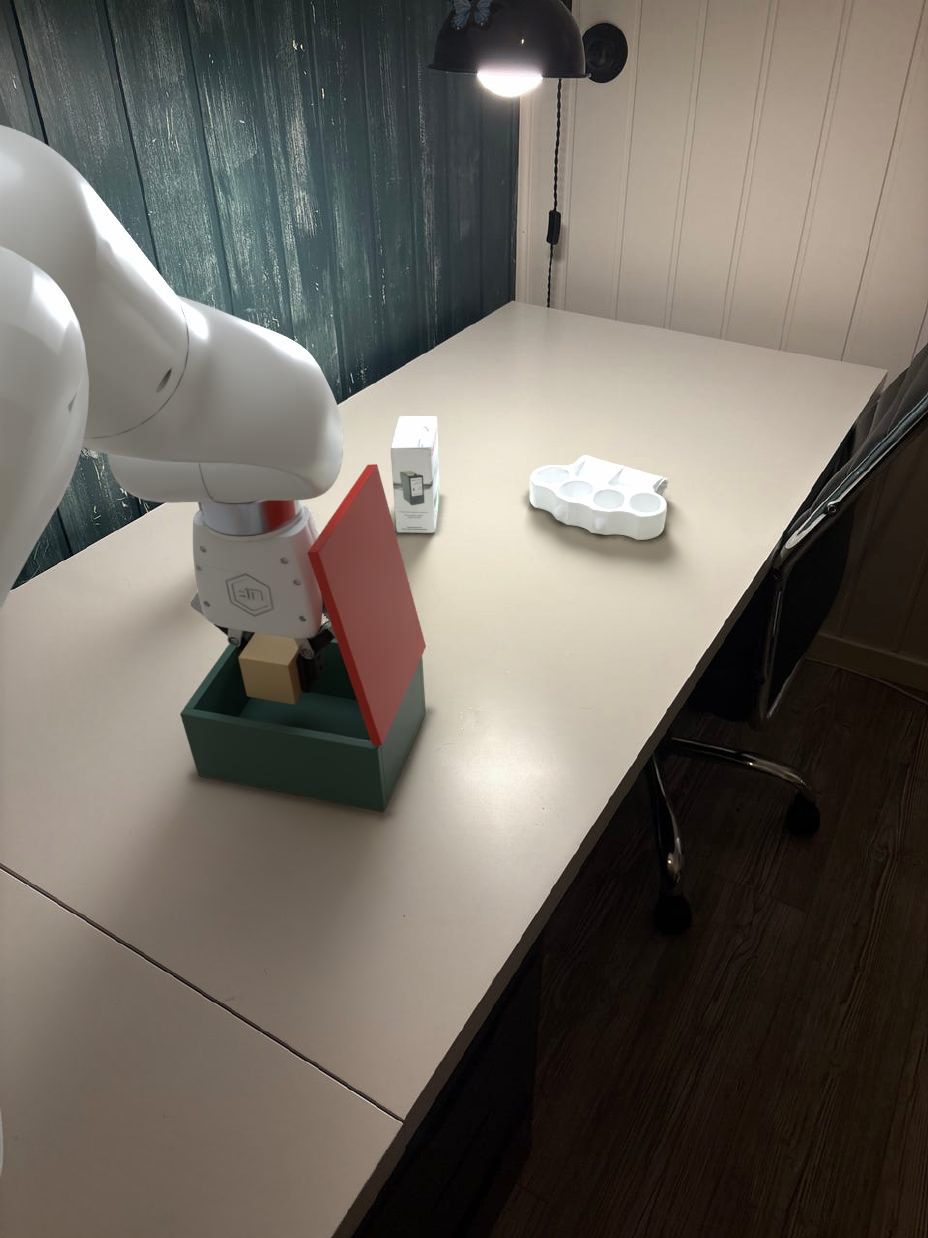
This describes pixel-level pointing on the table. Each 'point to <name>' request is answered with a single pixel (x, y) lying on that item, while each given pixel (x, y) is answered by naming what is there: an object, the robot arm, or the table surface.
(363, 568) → the lid
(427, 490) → the ink box
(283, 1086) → the table surface
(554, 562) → the table surface
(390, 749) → the box
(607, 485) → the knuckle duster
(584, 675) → the table surface
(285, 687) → the kraft parcel
